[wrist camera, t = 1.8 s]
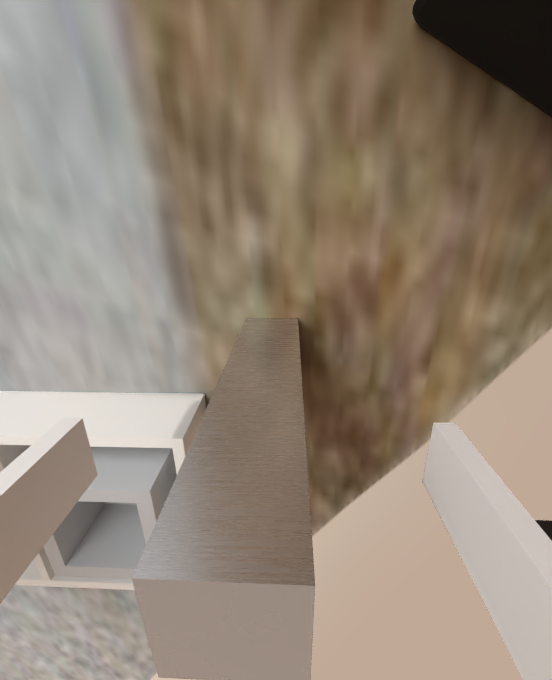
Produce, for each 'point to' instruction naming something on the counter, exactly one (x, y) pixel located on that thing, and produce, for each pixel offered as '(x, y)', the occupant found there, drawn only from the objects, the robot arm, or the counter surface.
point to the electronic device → (498, 40)
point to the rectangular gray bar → (238, 527)
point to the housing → (105, 477)
